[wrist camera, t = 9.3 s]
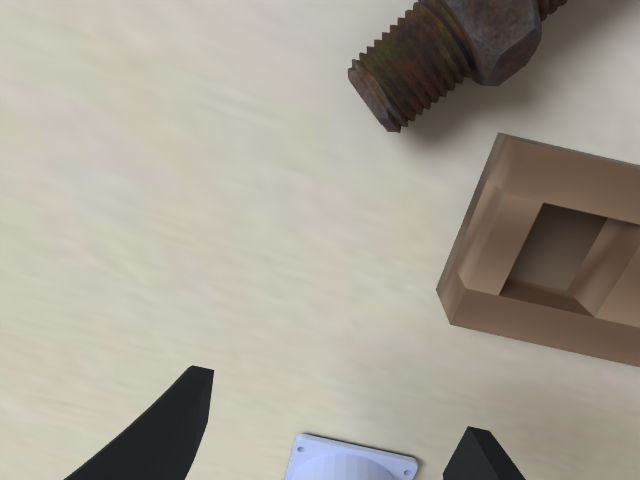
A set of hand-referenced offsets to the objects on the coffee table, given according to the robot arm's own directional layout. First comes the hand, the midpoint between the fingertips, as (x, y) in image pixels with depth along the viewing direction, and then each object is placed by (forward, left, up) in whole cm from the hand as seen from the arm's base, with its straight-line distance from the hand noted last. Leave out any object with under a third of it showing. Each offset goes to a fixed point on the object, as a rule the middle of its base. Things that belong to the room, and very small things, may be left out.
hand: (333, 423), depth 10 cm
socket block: (+4, -12, -9) cm, 16 cm away
